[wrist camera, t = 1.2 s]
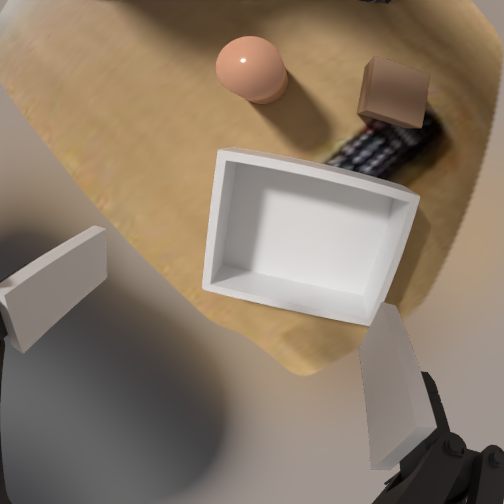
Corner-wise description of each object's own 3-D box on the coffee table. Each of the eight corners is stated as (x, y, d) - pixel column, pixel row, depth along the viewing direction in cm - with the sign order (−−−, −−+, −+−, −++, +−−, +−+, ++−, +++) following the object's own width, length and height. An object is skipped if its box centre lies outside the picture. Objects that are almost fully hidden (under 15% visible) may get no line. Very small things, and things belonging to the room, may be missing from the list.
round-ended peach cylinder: (241, 54, 25) (221, 34, 18) (291, 60, 24) (286, 40, 18) (233, 100, 27) (211, 92, 20) (283, 107, 26) (276, 100, 20)
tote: (232, 146, 28) (218, 149, 24) (403, 185, 27) (420, 196, 22) (216, 267, 34) (202, 289, 30) (366, 300, 32) (372, 326, 28)
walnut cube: (364, 67, 23) (375, 55, 19) (411, 82, 23) (429, 74, 18) (356, 113, 25) (366, 110, 21) (404, 128, 25) (421, 128, 20)
